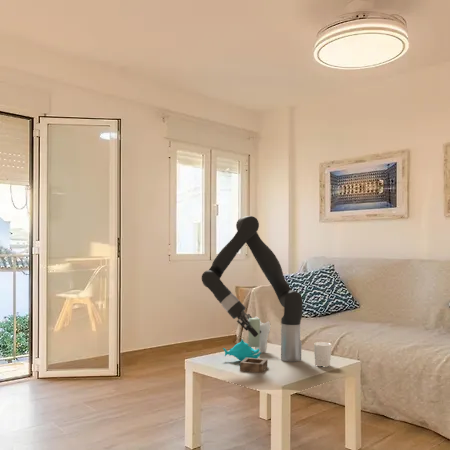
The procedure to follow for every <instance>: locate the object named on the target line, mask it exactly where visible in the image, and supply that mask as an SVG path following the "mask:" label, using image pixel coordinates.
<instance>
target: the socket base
mask: <svg viewBox="0 0 450 450" xmlns="http://www.w3.org/2000/svg"><path fill="white" fill-rule="evenodd" d="M266 369H268V358H259V357H258V358H247V357H246V358H245V359H244V360H242V361H241V360H240V362H239V371H240V372H241V371H243V372H253V373H264V372H265V370H266Z"/></svg>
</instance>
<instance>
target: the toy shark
mask: <svg viewBox="0 0 450 450" xmlns="http://www.w3.org/2000/svg"><path fill="white" fill-rule="evenodd" d="M222 350H223V351H224V357H226V356H227V355H229V356H233V357H234V358H236V359H237V360H238V361H240V362H241V361H242V360H244V359H245V358H246V357H247V358H258V359H259V357H260V356H261V354H262V353H261V352H260V350H259V349H257V350H255V348H254V347H249V346H248V343H247V342H245V341H244V339H242V338H241V340H240V342H238V343H236V344H235V345H234V346H232V348H229V350H227V349H226V348H224V347H222Z"/></svg>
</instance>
